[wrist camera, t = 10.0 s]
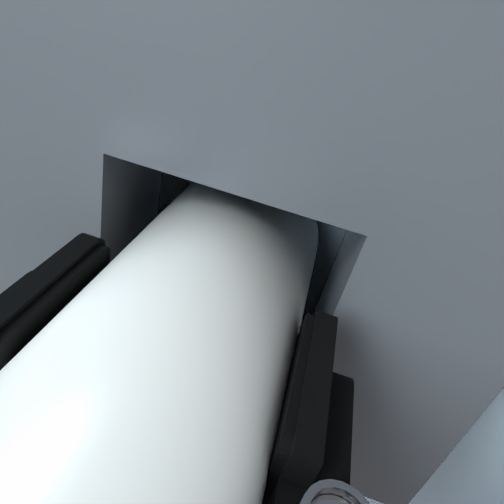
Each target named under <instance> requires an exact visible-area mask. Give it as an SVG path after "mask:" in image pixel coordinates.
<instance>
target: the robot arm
mask: <svg viewBox="0 0 504 504" xmlns="http://www.w3.org/2000/svg"><path fill="white" fill-rule="evenodd" d="M109 263H110V248H109V247H107V246H106V244H105V241H104V240H103V239H101V238H98V237H95V236H92V235H89V234H86V233H80V234H79V235H77V236H76V237H75V238H73V239H72V240H71V241H70V242H68V243H67V244H66V245H65V246H63V247H62V248H61V249H59V250H58V251H57V252H56V253H54V254H53V255H52V256H51V257H49V258H48V259H47V260H45V261H44V262H43V263H42V264H40V265H39V266H38V267H37V268H35V269H34V270H32V271H30V272H28V273H27V274H25V275H24V276H23V277H21V278H20V279H19V280H18V281H16V282H15V283H14V284H12V285H11V286H10V287H9V288H7V289H6V290H5V291H3V292H2V293H1V294H0V370H1V369H2V368H3V367H4V366H5V365H6V364H8V363H9V362H10V361H11V360H12V359H13V358H14V357H15V356H16V355H17V354H18V353H19V352H20V351H21V350H22V349H23V348H24V347H25V346H26V345H27V344H28V343H29V342H30V341H31V340H32V339H33V338H34V337H35V336H36V335H37V334H38V333H39V332H40V331H41V330H42V329H43V328H44V327H45V326H46V325H47V324H48V323H49V322H50V321H51V320H52V319H53V318H54V317H55V316H56V315H57V314H58V313H59V312H60V311H61V310H62V309H63V308H64V307H65V306H66V305H67V304H69V303H70V302H71V301H72V300H73V299H74V298H75V297H76V296H77V295H78V294H79V293H80V292H81V291H82V290H83V289H84V288H85V287H86V286H87V285H88V284H89V283H90V282H91V281H92V280H93V279H94V278H95V277H96V276H97V275H98V274H99V273H100V272H101V271H102V270H103V269H104V268H105V267H106V266H107V265H108V264H109ZM337 325H338V317H336V316H333V315H330V314H327V313H324V312H321V311H318V310H317V311H316V312H315V314H314V315H311V314H308V313H307V314H306V316H305V318H304V321H303V323H302V326H301V329H300V331H299V334H298V337H297V341H296V346H295V351H294V355H293V360H292V364H291V369H290V373H289V378H288V382H287V387H286V392H285V396H284V401H283V405H282V410H281V414H280V419H279V423H278V428H277V433H276V437H275V442H274V446H273V451H272V455H271V460H270V464H269V469H268V473H267V482H266V487H265V492H264V497H263V501H262V504H369V503H368V501H367V500H366V499H365V497H364V496H363V495H362V494H361V493H360V492H358V491H357V490H356V489H355V488H354V487H352V486H350V474H351V450H352V426H353V403H354V380H353V378H350V377H347V376H344V375H341V374H338V373H335V372H333V365H334V355H335V345H336V335H337Z"/></svg>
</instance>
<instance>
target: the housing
mask: <svg viewBox="0 0 504 504" xmlns="http://www.w3.org/2000/svg"><path fill="white" fill-rule="evenodd" d="M162 172H164V173H167V174H170V175H173V176H177V177H180V178H183V179H186V180H189V181H193V182H196V183H199V184H202V185H205V186H209V187H212V188H215V189H218V190H221V191H225V192H228V193H231V194H234V195H237V196H240V197H244V198H247V199H250V200H253V201H256V202H260V203H263V204H266V205H269V206H272V207H276V208H279V209H282V210H285V211H288V212H292V213H295V214H298V215H301V216H304V217H307V218H311V219H314V220H317V221H320V222H323V223H327V224H330V225H333V226H336V227H339V228H343V229H346V230H347V231H346V233H345V236H344V239H343V241H342V244H341V246H340V249H339V251H338V254H337V256H336V259H335V261H334V264H333V266H332V269H331V271H330V274H329V276H328V279H327V281H326V284H325V286H324V289H323V291H322V294H321V296H320V299H319V301H318V304H317V306H316V309H315V311H314V314H315V312H316V311H317V310H318V311H321V312H324V313H327V314H330V315H333V316H336V317H338V325H337V335H336V345H335V355H334V365H333V372H335V373H338V374H341V375H344V376H347V377H350V378H353V380H354V403H353V426H352V450H351V474H350V486H352V487H354V488H355V489H356V490H357V491H358V492H360V493H361V494H362V495H363V496H365V497H368V498H371V499H373V500H376V501H379V502H382V503H384V504H408V503H409V502H410V501H411V500H412V498H413V497H414V496H415V495H416V494H417V492H418V491H419V490H420V489H421V487H422V486H423V485H424V484H425V483H426V481H427V480H428V479H429V478H430V476H431V475H432V474H433V473H434V472H435V470H436V469H437V468H438V467H439V465H440V464H441V463H442V462H443V461H444V459H445V458H446V457H447V456H448V454H449V453H450V452H451V451H452V450H453V448H454V447H455V446H456V445H457V443H458V442H459V441H460V440H461V439H462V437H463V436H464V435H465V434H466V433H467V431H468V430H469V429H470V428H471V426H472V425H473V424H474V423H475V422H476V420H477V419H478V418H479V417H480V415H481V414H482V413H483V412H484V411H485V409H486V408H487V407H488V406H489V404H490V403H491V402H492V401H493V400H494V398H495V397H496V396H497V395H498V393H499V392H500V391H501V390H502V389H503V387H504V0H0V294H1V293H2V292H3V291H5V290H6V289H7V288H9V287H10V286H11V285H12V284H14V283H15V282H16V281H18V280H19V279H20V278H21V277H23V276H24V275H25V274H27V273H28V272H30V271H32V270H34V269H35V268H37V267H38V266H39V265H40V264H42V263H43V262H44V261H45V260H47V259H48V258H49V257H51V256H52V255H53V254H54V253H56V252H57V251H58V250H59V249H61V248H62V247H63V246H65V245H66V244H67V243H68V242H70V241H71V240H72V239H73V238H75V237H76V236H77V235H79V234H80V233H86V234H89V235H92V236H95V237H98V238H101V239H103V240H104V241H105V244H106V246H107V247H109V248H110V262H111V261H112V260H113V259H114V258H115V257H116V256H117V255H118V254H119V253H120V252H121V251H122V250H123V249H124V248H125V247H126V246H127V245H128V244H130V243H131V242H132V241H133V240H134V239H135V238H136V237H137V236H138V235H139V234H140V233H141V232H142V231H143V230H144V229H145V228H146V227H147V226H148V225H149V224H150V223H151V222H152V221H153V220H154V219H155V218H156V217H157V215H158V206H159V198H160V189H161V180H162ZM314 314H313V315H314Z"/></svg>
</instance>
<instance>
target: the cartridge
mask: <svg viewBox="0 0 504 504" xmlns="http://www.w3.org/2000/svg"><path fill="white" fill-rule="evenodd" d="M317 248H318V227H317V222H316V220H314V219H311V218H307V217H304V216H301V215H298V214H295V213H292V212H288V211H285V210H282V209H279V208H276V207H272V206H269V205H266V204H263V203H260V202H256V201H253V200H250V199H247V198H244V197H240V196H237V195H234V194H231V193H228V192H225V191H221V190H218V189H215V188H212V187H209V186H205V185H202V184H199V183H196V182H192V183H191V184H189V185H188V186H187V187H186V188H185V189H184V190H183V191H182V192H181V193H180V194H179V195H178V196H177V197H176V198H175V199H174V200H173V201H172V202H171V203H170V204H169V205H168V206H167V207H166V208H165V209H164V210H163V211H162V212H161V213H160V214H159V215H158V216H157V217H156V218H155V219H154V220H153V221H152V222H151V223H150V224H149V225H148V226H147V227H146V228H145V229H144V230H143V231H142V232H141V233H140V234H139V235H138V236H137V237H136V238H135V239H134V240H133V241H132V242H131V243H130V244H128V245H127V246H126V247H125V248H124V249H123V250H122V251H121V252H120V253H119V254H118V255H117V256H116V257H115V258H114V259H113V260H112V261H111V262H110V263H109V264H108V265H107V266H106V267H105V268H104V269H103V270H102V271H101V272H100V273H99V274H98V275H97V276H96V277H95V278H94V279H93V280H92V281H91V282H90V283H89V284H88V285H87V286H86V287H85V288H84V289H83V290H82V291H81V292H80V293H79V294H78V295H77V296H76V297H75V298H74V299H73V300H72V301H71V302H70V303H69V304H67V305H66V306H65V307H64V308H63V309H62V310H61V311H60V312H59V313H58V314H57V315H56V316H55V317H54V318H53V319H52V320H51V321H50V322H49V323H48V324H47V325H46V326H45V327H44V328H43V329H42V330H41V331H40V332H39V333H38V334H37V335H36V336H35V337H34V338H33V339H32V340H31V341H30V342H29V343H28V344H27V345H26V346H25V347H24V348H23V349H22V350H21V351H20V352H19V353H18V354H17V355H16V356H15V357H14V358H13V359H12V360H11V361H10V362H9V363H8V364H6V365H5V366H4V367H3V368H2V369H1V370H0V504H262V501H263V497H264V492H265V487H266V482H267V473H268V469H269V464H270V460H271V455H272V451H273V446H274V442H275V437H276V433H277V428H278V423H279V419H280V414H281V410H282V405H283V401H284V396H285V392H286V387H287V382H288V378H289V373H290V369H291V364H292V360H293V355H294V351H295V346H296V341H297V337H298V334H299V331H300V326H301V322H302V317H303V313H304V308H305V303H306V299H307V294H308V290H309V285H310V280H311V276H312V271H313V267H314V262H315V257H316V253H317Z"/></svg>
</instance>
